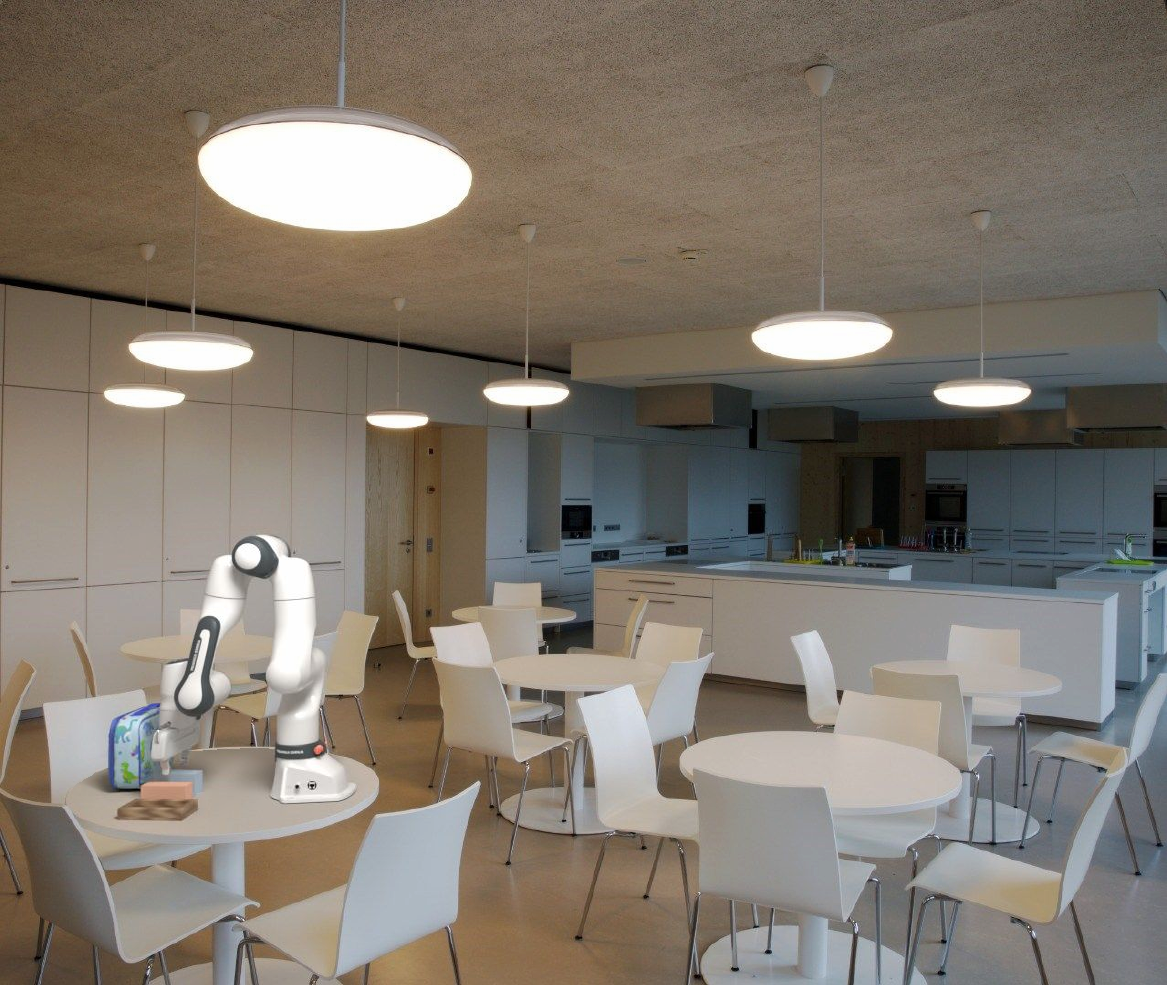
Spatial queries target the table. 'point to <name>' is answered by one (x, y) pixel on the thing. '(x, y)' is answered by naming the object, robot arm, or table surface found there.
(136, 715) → the lunch box
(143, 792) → the salmon orange rectangular block
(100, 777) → the table surface
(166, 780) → the pale blue upright slab
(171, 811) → the jig
